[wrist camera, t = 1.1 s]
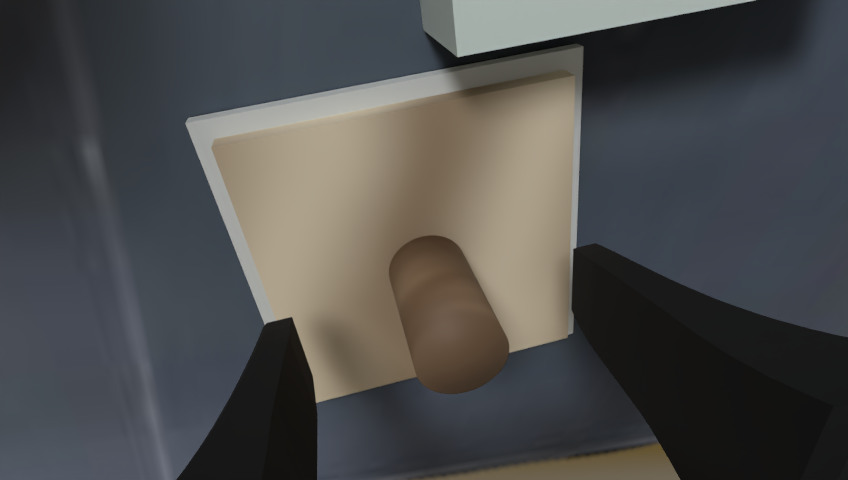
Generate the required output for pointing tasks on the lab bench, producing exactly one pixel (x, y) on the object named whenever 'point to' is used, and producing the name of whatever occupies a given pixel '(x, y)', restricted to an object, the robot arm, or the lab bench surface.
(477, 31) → the dish
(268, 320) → the mat
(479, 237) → the lid
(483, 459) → the lab bench surface
